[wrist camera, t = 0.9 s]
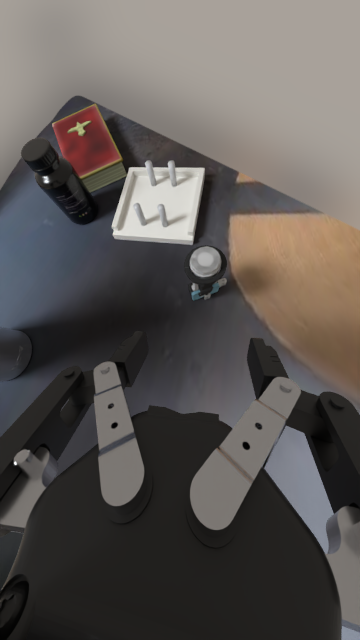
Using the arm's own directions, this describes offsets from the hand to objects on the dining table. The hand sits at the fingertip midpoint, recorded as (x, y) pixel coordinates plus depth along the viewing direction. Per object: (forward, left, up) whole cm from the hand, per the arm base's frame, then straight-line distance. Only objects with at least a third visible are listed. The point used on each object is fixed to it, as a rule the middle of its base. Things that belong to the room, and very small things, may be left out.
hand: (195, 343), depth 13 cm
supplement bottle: (-29, +26, -16) cm, 42 cm away
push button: (0, +11, -16) cm, 19 cm away
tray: (-12, +28, -15) cm, 34 cm away
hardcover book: (-32, +42, -16) cm, 55 cm away
